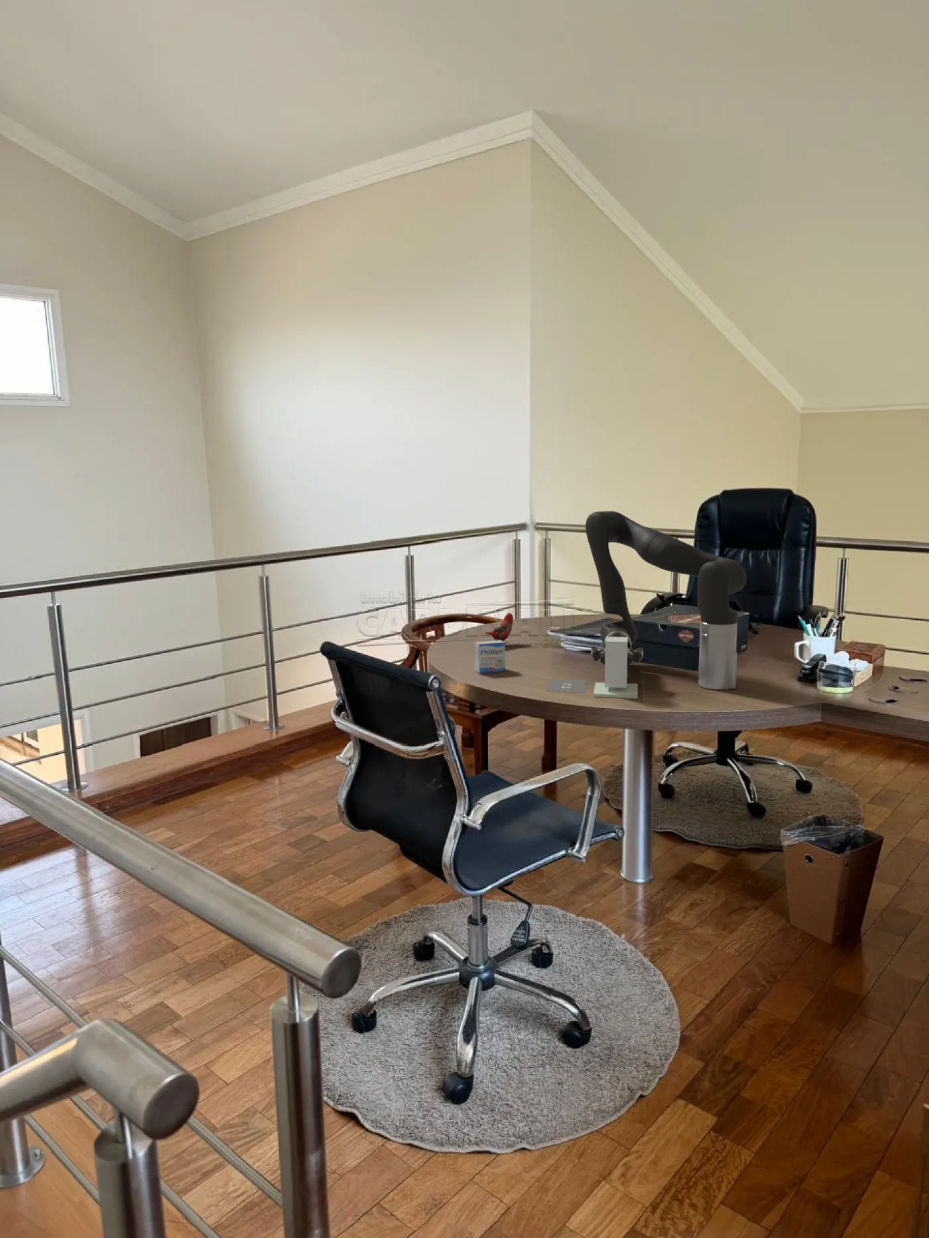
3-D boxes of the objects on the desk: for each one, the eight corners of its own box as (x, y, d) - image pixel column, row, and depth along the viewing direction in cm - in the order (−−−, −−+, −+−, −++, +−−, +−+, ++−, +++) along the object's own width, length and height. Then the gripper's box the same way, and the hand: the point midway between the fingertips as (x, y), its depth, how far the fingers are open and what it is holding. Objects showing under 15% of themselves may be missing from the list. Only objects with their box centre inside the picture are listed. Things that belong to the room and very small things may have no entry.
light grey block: (626, 682, 227) (627, 637, 224) (626, 687, 221) (627, 641, 219) (605, 681, 228) (606, 636, 225) (604, 687, 222) (605, 641, 220)
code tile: (586, 681, 236) (586, 680, 236) (584, 693, 224) (584, 692, 224) (550, 680, 238) (550, 679, 238) (545, 692, 226) (545, 691, 226)
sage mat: (637, 687, 229) (637, 683, 229) (637, 699, 218) (637, 695, 218) (595, 686, 231) (595, 682, 231) (593, 697, 221) (593, 693, 220)
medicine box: (478, 674, 246) (478, 644, 244) (474, 670, 250) (474, 641, 248) (505, 671, 248) (505, 642, 246) (500, 668, 252) (500, 639, 250)
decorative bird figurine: (517, 641, 287) (517, 612, 285) (489, 652, 272) (488, 621, 270) (509, 640, 288) (509, 611, 286) (481, 651, 274) (480, 620, 272)
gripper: (591, 632, 238) (587, 645, 222) (644, 633, 235) (645, 647, 219) (590, 658, 239) (587, 674, 223) (644, 660, 237) (644, 676, 220)
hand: (616, 660), depth 221 cm, fingers closed on light grey block, 5 cm apart
